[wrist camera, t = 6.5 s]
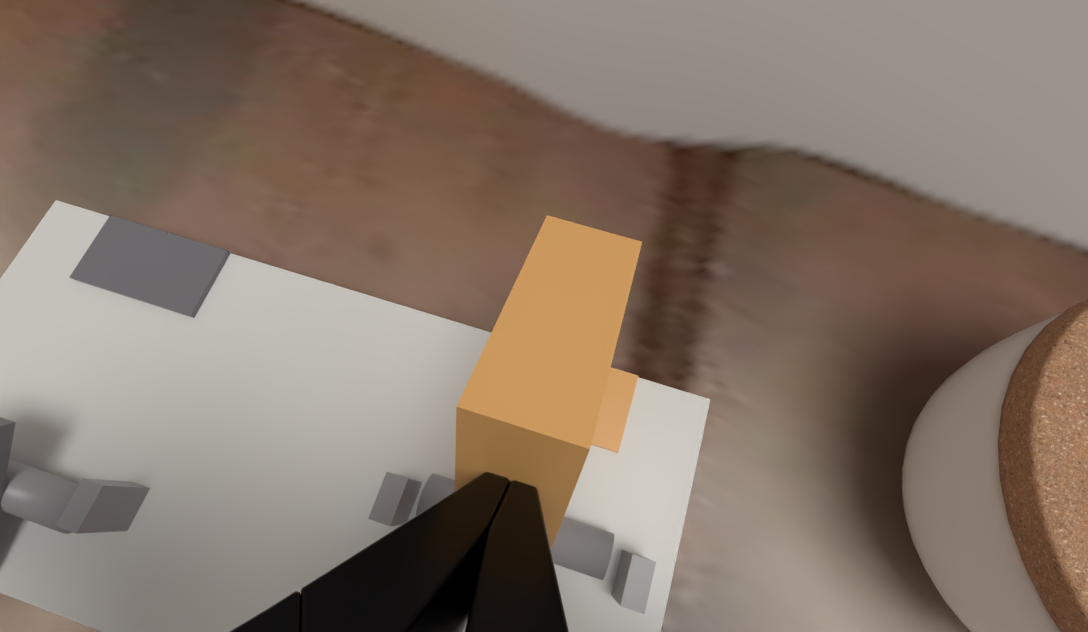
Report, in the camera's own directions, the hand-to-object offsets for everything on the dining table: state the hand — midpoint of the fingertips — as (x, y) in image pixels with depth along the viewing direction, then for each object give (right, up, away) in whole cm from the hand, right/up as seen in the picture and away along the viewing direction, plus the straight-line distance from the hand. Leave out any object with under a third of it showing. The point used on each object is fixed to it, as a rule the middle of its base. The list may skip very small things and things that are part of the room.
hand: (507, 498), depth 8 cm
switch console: (-7, -2, +10) cm, 12 cm away
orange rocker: (0, -3, +7) cm, 8 cm away
